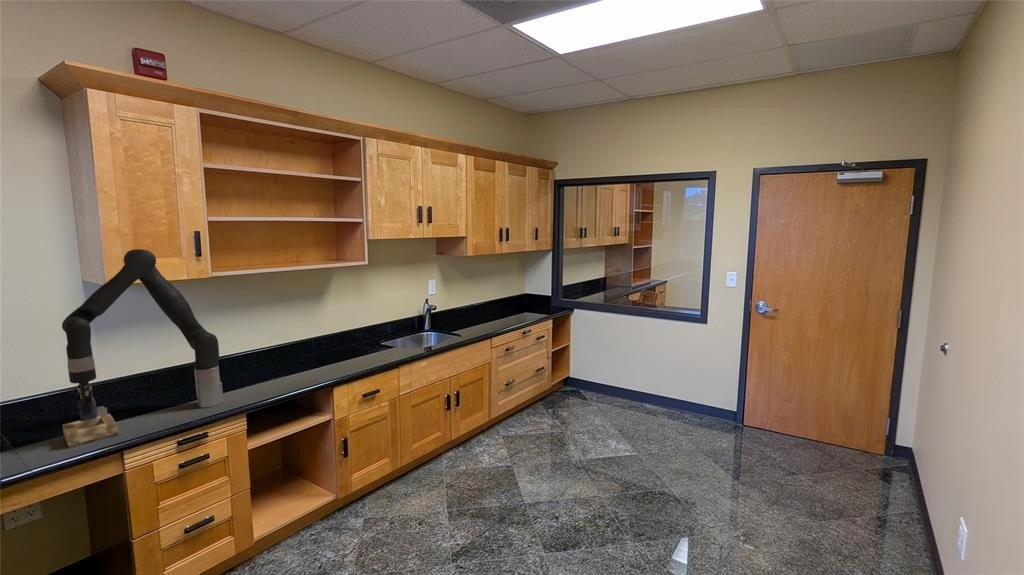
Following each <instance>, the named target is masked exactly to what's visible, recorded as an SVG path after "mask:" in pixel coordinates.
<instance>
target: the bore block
mask: <svg viewBox="0 0 1024 575" xmlns="http://www.w3.org/2000/svg"><path fill="white" fill-rule="evenodd" d="M61 426H62V433H63V437H64V440H65V443H66V445H67V447H68V449H71V447H72V448H75V446H76V447H79V446H83V445H86V444H90V443H95V442H97V441H98V442H99V441H102V440H105V439H109V438H113V437H115V436H116V437H118V435H119V433H118V426H117V422H116V420H115V419H114V417H113V416H112V415H111V413H108V414H106V415H101V416H97V418H96V419H92V420H87V421H81V419H80V420H77V421H72V422H67V423H64V424H62V425H61Z"/></svg>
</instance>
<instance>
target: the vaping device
mask: <svg viewBox="0 0 1024 575" xmlns="http://www.w3.org/2000/svg"><path fill="white" fill-rule="evenodd" d="M75 394H76V402H77V403H76V404H77V408H78V409H79V416H80V417H79V418H80V420H81V421H87V420H92V419H96V418H97V402H96V400H95V397H94V396H92V403H91V407H92V413H89V414H85V413H84V407H83V404H82V399H80V395H79V392H78V391H76V392H75ZM81 394H82V393H81ZM87 400H89V399H87ZM85 401H86V400H85Z"/></svg>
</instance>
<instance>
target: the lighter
mask: <svg viewBox="0 0 1024 575" xmlns="http://www.w3.org/2000/svg"><path fill="white" fill-rule="evenodd" d="M96 408H97V416H101V415H106V414H109V412H108V407H106V406H105V407H104V406H103V405H100V406H96Z"/></svg>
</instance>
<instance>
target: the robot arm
mask: <svg viewBox="0 0 1024 575" xmlns="http://www.w3.org/2000/svg"><path fill="white" fill-rule="evenodd" d="M156 258H157V257H156V256H155V255H154V253H153V252H151V251H149V250H146V249H142V248H140V249H139V248H136V249H131V250H128V251H127V252H125V254H124V256H123V263H124V265H123V266H122V267H121V269H119V271H118V272H117V273H116V274H115V275H114V276H113V277H112V278H110V279H109V280H108V281H106V282H104V284H102V285H101V286H100V287H99V288H97V289H96V290H95V291H94V292H93V293H92V294H91V295H90V296H88V298H87V299H86V300H85V301H84V302H83V303H82V304H81V305H80V306H79V307H77V308H76V309H75V310H73V311H72V312H71V313H70V314H68V315H67V316H66V317H65V319H64V320H63V321H62V324H61V327H62V330H63V332H65V335H66V341H67V344H66V350H65V351H66V356H67V357H66V358H67V371H68V378H69V382H70V384H78V385H76V390H77V392H79V395H80V399H82V404H83V407H84V413H85V414H89V413H92V407H91V403H92V397H93V391H92V390H93V385H92V384H91V383H90V382H91V381H94V380H96V379H97V372H96V363H95V359H94V355H93V354H94V353H93V350H92V348H93V347H92V343H91V342H92V329H91V323H92V322H93V321H95V319H96V318H97V317H100V316H101V315H103V314H105V312H106V311H107V310H108V309H109V308H110V307H112V305H113V304H114V303H115V302H116V301H117V300H118V299H119V298H120V297H121V296H122V295H123V294H124V293H125V292H126V291H127V290H128V289H129V288H130V287H131V286H132V285H133V284H135V282H137V281H138V280H139V281H140V282H141V283H142V284H143V286H144V287H145V289H146V290H147V292H148V293H149V294H150V296H151V297H152V299H153V300H154V301H155V303H156V305H157V306H158V307H159V309H161V311H162V312H163V313H164V315H166V317H167V318H168V319H169V320H170V321H171V322H172V323H173V324H174V325H175V326H176V327H177V328H178V329H179V331H180V332H181V333H182V335H183V337H184V338H185V340H186V341H187V343H188V345H189V346H190V348H192V350H194V358H195V360H194V362H193V370H194V371H193V373H194V380H195V390H196V391H195V392H196V398H197V400H196V401H197V407H198V408H212V407H216V406H218V405H220V404H223V403H224V402H225V401H224V392H223V383H222V381H221V378H220V377H221V376H220V369H219V367H220V366H219V360H220V347H219V340H218V337H217V336H216V334H214V333H211V332H209V331H207V330H206V329H205V328H204V326H202V325H201V324H200V323H199V320H197V319H196V316H195V315H194V312H193V310H192V307H191V305H190V304H189V302H188V301H187V299H186V298H185V297H184V296H183V294H182V293H181V292H180V291H179V290H178V289H177V287H175V286H174V285H173V284H172V283H171V282H170V281H169V280H167V279H166V277H164V276H163V275H162V273H161V272H160V271H159V269H158V268H157V267H156V264H157V259H156ZM81 393H82V394H81ZM87 399H89V400H87ZM85 400H86V401H85Z"/></svg>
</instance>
